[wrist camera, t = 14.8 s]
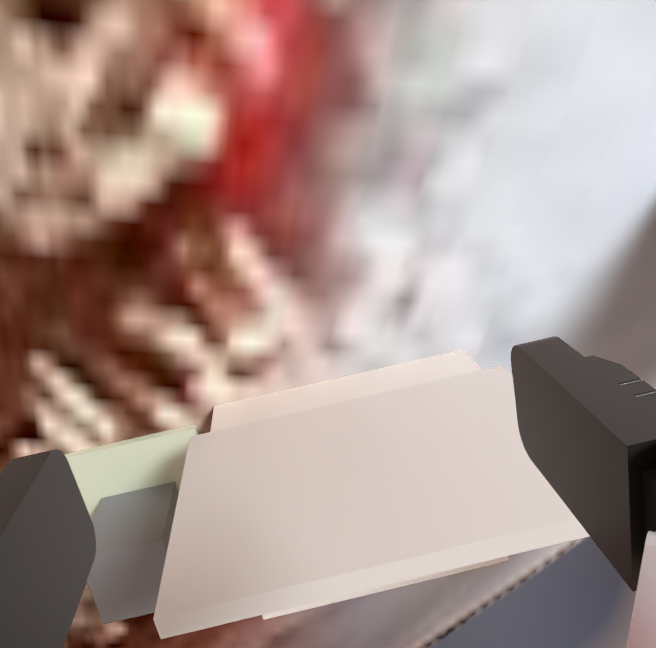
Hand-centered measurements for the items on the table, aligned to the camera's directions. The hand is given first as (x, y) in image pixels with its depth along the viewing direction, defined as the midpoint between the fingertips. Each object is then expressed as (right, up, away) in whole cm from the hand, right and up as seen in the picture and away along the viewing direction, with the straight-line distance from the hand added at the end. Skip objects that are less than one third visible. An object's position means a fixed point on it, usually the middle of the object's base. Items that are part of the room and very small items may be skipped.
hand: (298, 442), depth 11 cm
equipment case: (+3, -8, +33) cm, 34 cm away
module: (-12, -11, +32) cm, 36 cm away
